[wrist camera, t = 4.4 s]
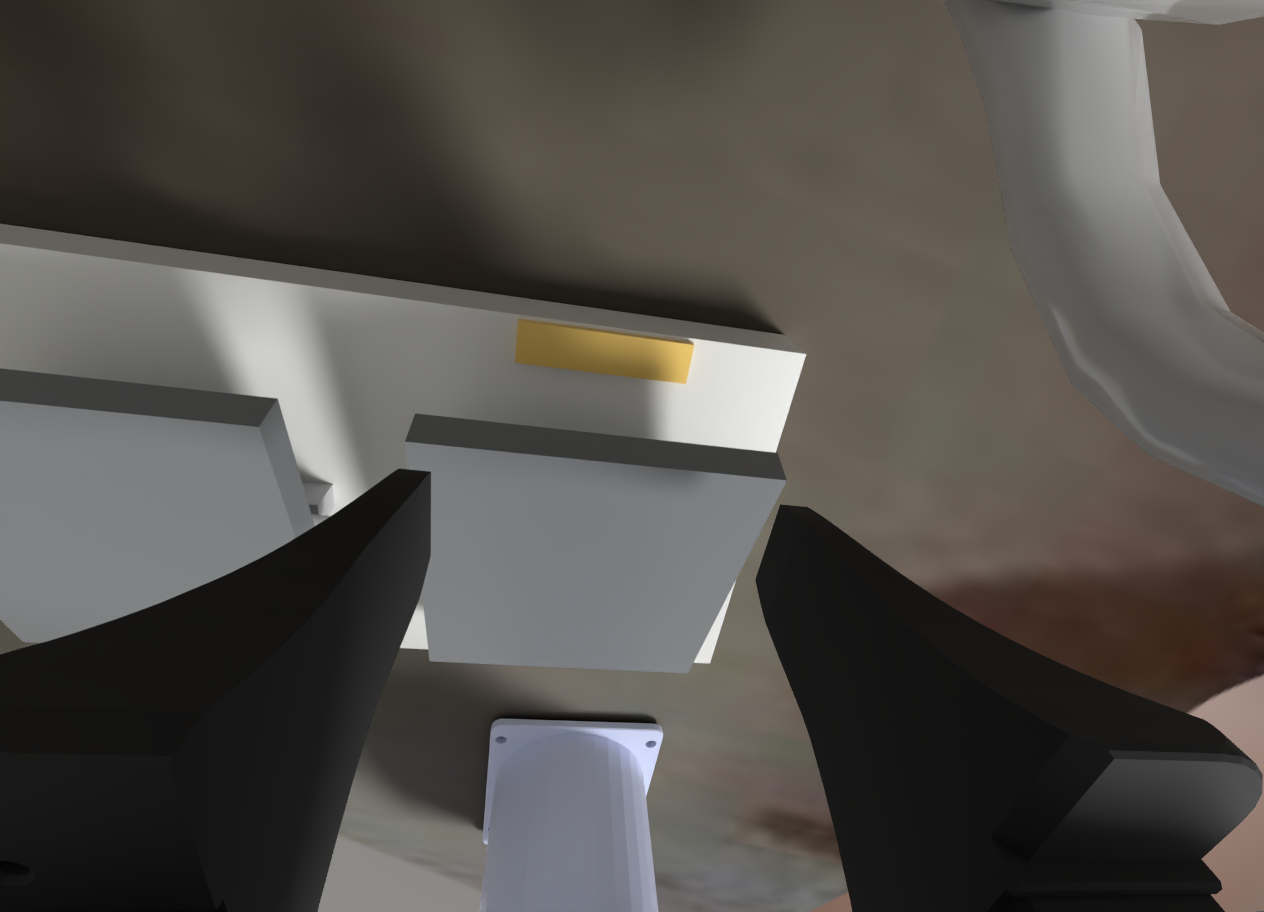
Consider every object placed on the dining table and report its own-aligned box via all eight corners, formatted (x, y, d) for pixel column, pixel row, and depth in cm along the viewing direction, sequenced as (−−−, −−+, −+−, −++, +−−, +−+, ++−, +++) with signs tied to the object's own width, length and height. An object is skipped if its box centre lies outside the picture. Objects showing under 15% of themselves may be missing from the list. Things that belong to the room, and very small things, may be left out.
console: (700, 626, 25) (716, 687, 22) (73, 589, 21) (-3, 656, 19) (785, 334, 19) (821, 367, 16) (-62, 214, 15) (-204, 230, 13)
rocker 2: (690, 631, 22) (696, 673, 21) (431, 616, 21) (420, 661, 19) (782, 436, 16) (797, 481, 14) (409, 393, 14) (390, 440, 13)
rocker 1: (360, 612, 20) (344, 657, 19) (50, 594, 19) (12, 641, 18) (303, 381, 14) (273, 428, 12) (-183, 326, 12) (-271, 373, 11)
